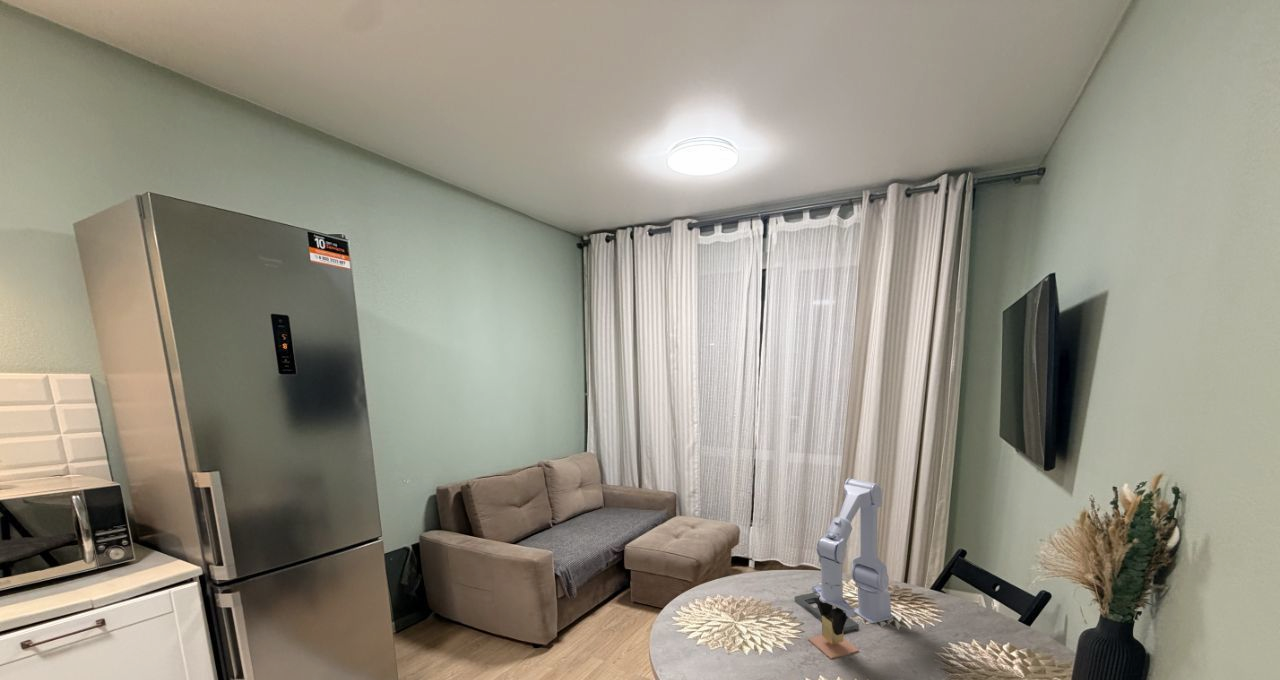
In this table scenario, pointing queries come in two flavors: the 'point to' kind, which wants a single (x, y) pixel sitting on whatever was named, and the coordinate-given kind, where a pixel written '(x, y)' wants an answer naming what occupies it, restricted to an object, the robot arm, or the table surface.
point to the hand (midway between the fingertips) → (832, 629)
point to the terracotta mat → (833, 647)
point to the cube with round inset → (830, 630)
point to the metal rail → (810, 598)
